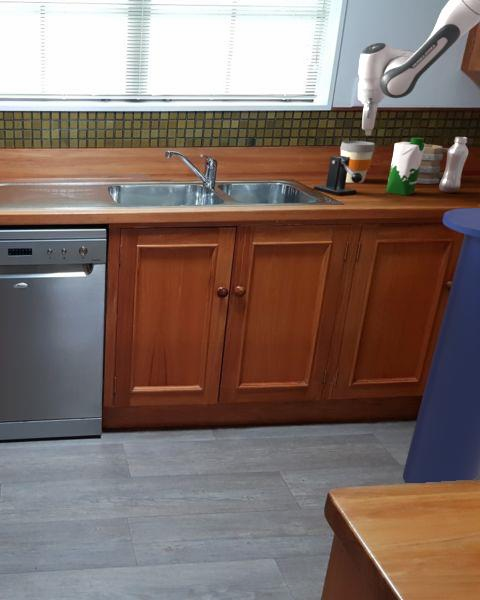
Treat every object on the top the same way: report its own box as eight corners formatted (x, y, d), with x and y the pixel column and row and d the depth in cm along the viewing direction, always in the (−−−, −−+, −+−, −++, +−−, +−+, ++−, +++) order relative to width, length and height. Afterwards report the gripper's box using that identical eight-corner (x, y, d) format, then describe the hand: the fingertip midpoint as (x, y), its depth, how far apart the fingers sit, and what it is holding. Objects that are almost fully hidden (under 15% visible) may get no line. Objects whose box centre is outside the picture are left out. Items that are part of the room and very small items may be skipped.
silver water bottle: (442, 189, 231) (454, 135, 224) (461, 192, 226) (475, 137, 219) (434, 191, 227) (447, 137, 220) (454, 194, 223) (468, 139, 215)
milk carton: (407, 196, 219) (419, 139, 212) (382, 192, 226) (393, 137, 218) (417, 193, 225) (429, 137, 217) (392, 189, 231) (403, 135, 224)
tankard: (404, 182, 243) (412, 144, 238) (401, 177, 254) (409, 140, 248) (461, 186, 236) (470, 147, 231) (456, 181, 247) (465, 143, 241)
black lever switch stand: (356, 193, 223) (362, 158, 219) (337, 195, 220) (343, 159, 215) (331, 187, 234) (337, 153, 229) (313, 189, 230) (318, 154, 225)
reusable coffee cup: (328, 178, 251) (334, 141, 245) (356, 177, 253) (363, 140, 247) (346, 184, 239) (353, 145, 233) (375, 183, 241) (382, 144, 236)
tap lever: (361, 184, 217) (366, 176, 215) (353, 185, 216) (358, 176, 214) (338, 163, 225) (343, 155, 223) (331, 163, 224) (335, 155, 222)
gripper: (378, 106, 203) (376, 143, 212) (384, 77, 215) (382, 112, 224) (358, 107, 206) (356, 143, 215) (364, 78, 218) (363, 113, 227)
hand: (369, 127), depth 219 cm, fingers open, 8 cm apart
